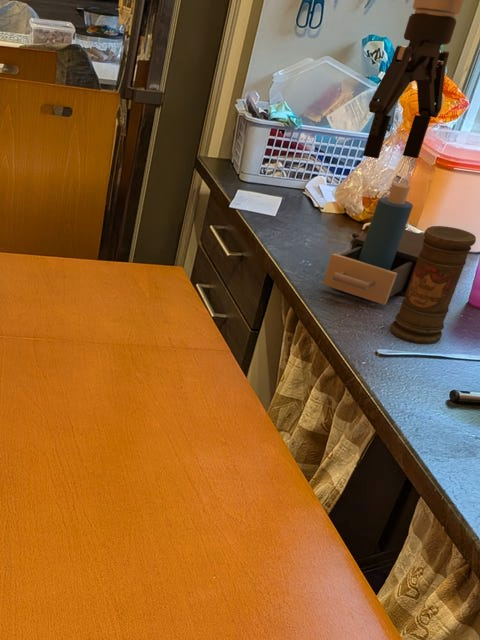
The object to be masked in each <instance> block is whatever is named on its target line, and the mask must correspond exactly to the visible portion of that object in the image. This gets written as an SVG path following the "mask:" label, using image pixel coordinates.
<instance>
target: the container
mask: <svg viewBox="0 0 480 640" xmlns="http://www.w3.org/2000/svg"><path fill="white" fill-rule="evenodd" d="M423 235H424V236H425V239H424V240H423V242H424V243H423V248H422V250H421V252H420V253H419V258H418V261H417V263H416V266H415V269H414V272H413V275H412V278H411V281H410V284H409V287H408V290H407V292H406V295H405V297H404V298H403V299H402V300H401V305H400V308H399V311H398V312H397V314H396V315H395V316H394V320H393V322H392V323H391V325H390V332H391V334H392V335H394V336H395V337H397V338H399V339H401V340H404V341H407V342H410V343H415V344H421V345H431V344H435V343H437V342H439V341H440V340H441V338H442V335H443V332H442V331H443V330H444V328H445V323H444V322H445V319H446V317H447V314H448V313H449V309H450V308H449V307H450V304H451V302H452V300H453V296H454V294H455V291H456V289H457V286H458V283H459V280H460V278H461V275H462V272H463V270H464V267H465V266H466V264H467V257H468V255H469V253H470V252H471V250H472V246H474V245H475V243H476V241H477V237H476V235H475V234H473V233H472V232H469V231H468V230H464V229H461V228H457V227H453V226H452V227H451V226H445V225H432V226H429V227H427V228H426V229H425V230H424V233H423Z"/></svg>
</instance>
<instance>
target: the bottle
mask: <svg viewBox="0 0 480 640" xmlns="http://www.w3.org/2000/svg"><path fill="white" fill-rule="evenodd" d="M410 189H411V186H410V185H409V184H405V183H402V182H393V183H392V186H391V188H390V191H389V194H388V197H387V196H383V197H379V198H378V200H377V202H376V206H375V209H374V212H373V214H372V218H371V221H370V224H369V226H368V229H367V232H366V233H367V236H366V239H365V242H364V245H363V248H362V251H361V254H360V257H359V260H358V261H361V262H364V263H367V264H370V265H373V266H377V267H380V268H383V269H386V270H389V271H390V269H391V266H392V263H393V260H394V258H395V255H396V252H397V249H398V246H399V244H400V241H401V238H402V235H403V232H404V230H406V226H407V224H408V221H409V218H410V215H411V212H412V209H413V207H414V204H413V203H411V202H410V201H407V197H408V195H409V192H410Z"/></svg>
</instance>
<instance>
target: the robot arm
mask: <svg viewBox="0 0 480 640" xmlns="http://www.w3.org/2000/svg"><path fill="white" fill-rule="evenodd" d="M463 3H464V0H414V1H413V5H412V9H413V10H414V13H411V14H410V15H409V17H408V20H407V23H406V27H405V31H404V34H403V39H404V40H406V41H409V43H408V45H397V46H396V48H395V50H394V52H393V56H392V59H391V61H390V63H389V65H388V67H387V68H386V70H385V72H384V75H383V76H382V78H381V80H380V82H379V84H378V85H377V88H376V90H375V92H374V94H373V95H372V97H371V99H370V101H369V104H368V111H369V113H372V114H374V115H373V119H372V121H371V125H370V129H369V132H368V135H367V139H366V143H365V145H364V149H363V153H362V157H366V158H367V157H368V158H372V159H380V154H381V152H382V149H383V145H384V141H385V138H386V135H387V132H388V128H389V125H390V121H391V119H392V115H389V113H390V112H392V110H393V108H394V106H395V105H396V104H397V102H398V101H399V99H400V98H401V97H402V96H403V94H404V92H405V91H406V89H407V88H408V86H409V85H410V83H413V82H415V83H416V93H417V105H418V106H417V108H418V114H414V117H413V120H412V124H411V127H410V130H409V133H408V136H407V139H406V143H405V146H404V149H403V153H402V156H403V157H408V158H414V159H418V158H419V156H420V152H421V149H422V147H423V144H424V140H425V137H426V134H427V131H428V128H429V126H430V125H429V124H430V121H431V119H432V118H437V117H438V116H439V114H440V112H441V110H442V104H443V94H444V87H445V85H444V84H445V78H446V67H447V64H448V59H449V55H450V52H449V51H448V50H447V51H446V50H441V46H442V45H444V46H445V45H448V44H450V43H451V41H452V38H453V34H454V31H455V28H456V25H457V19H456V18H455V16H456V15H459V14H460V12H461V9H462V6H463Z"/></svg>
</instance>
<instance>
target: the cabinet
mask: <svg viewBox="0 0 480 640" xmlns="http://www.w3.org/2000/svg"><path fill="white" fill-rule="evenodd" d="M367 233H368V232H366V233H364V234H361V235H359V236H357V237H354V238H353V241H352V244H351V248H350V250H352V249H354V248H356V247H359V246H361V245H362V246H363V245H364V242H365V239H366V236H367ZM424 239H425V236H424V233H423V234H422V233H419V232H415V231H412V230H408V229H405V230H404V232H403V235H402V238H401V241H400V244H399V246H398V249H397V252H396V255H395V256H398V257H402V258H405V259H408V260H412V261H415V262H416V263H417V261H418V258H419V253H420V252H421V250H422V248H423V243H424V242H423V240H424ZM416 263H415V266H416ZM415 266H414V269H415ZM414 269H413V271H412V274H411V277H410V279H409V282H408V285H407V287H406V288H405V289H403V290H401V291H399V292H398V293H396V294H395V295H398V296H402V297H404V298H405V295H406V292H407V290H408V287H409V284H410V281H411V278H412V275H413V272H414Z"/></svg>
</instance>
